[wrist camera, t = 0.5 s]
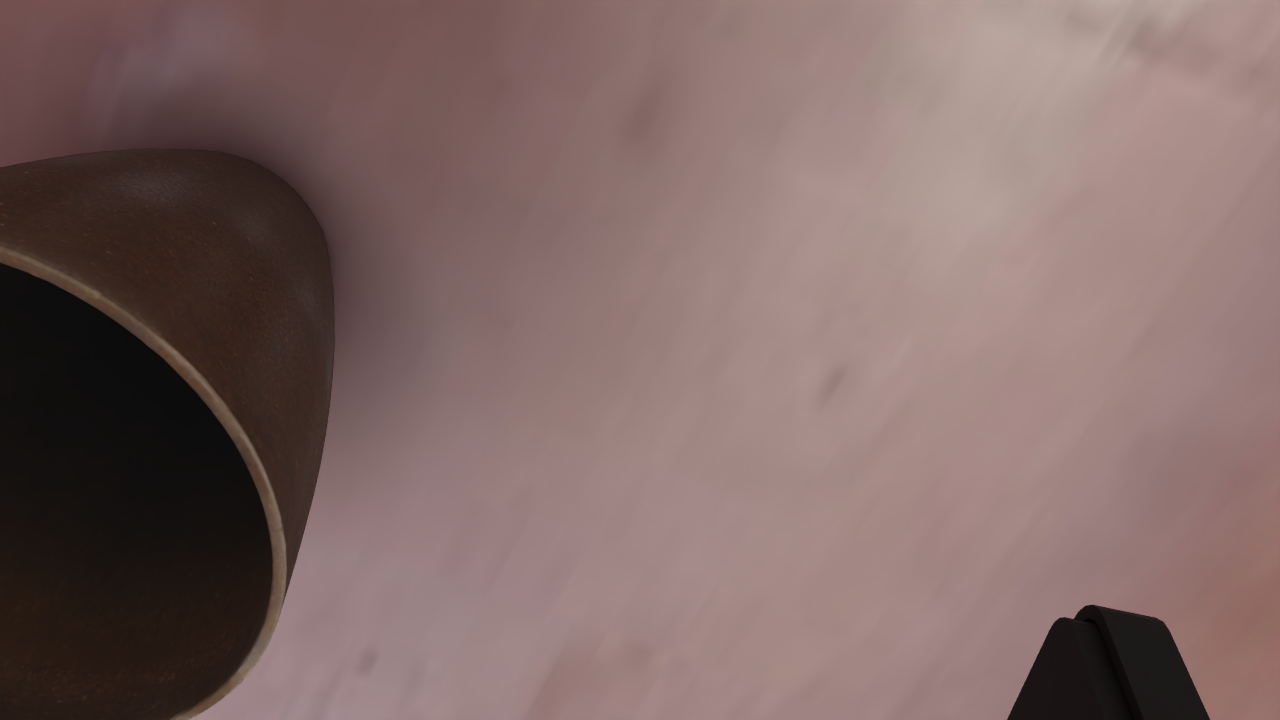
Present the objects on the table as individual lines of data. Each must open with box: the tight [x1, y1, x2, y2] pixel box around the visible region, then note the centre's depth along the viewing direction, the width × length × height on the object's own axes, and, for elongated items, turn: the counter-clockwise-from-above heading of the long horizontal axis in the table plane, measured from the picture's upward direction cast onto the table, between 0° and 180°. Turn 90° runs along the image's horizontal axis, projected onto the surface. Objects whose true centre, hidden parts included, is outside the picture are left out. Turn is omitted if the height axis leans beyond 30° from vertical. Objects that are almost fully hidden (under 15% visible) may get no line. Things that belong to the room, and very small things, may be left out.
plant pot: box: [0, 149, 335, 720], centre depth 35 cm, size 15×15×16 cm
